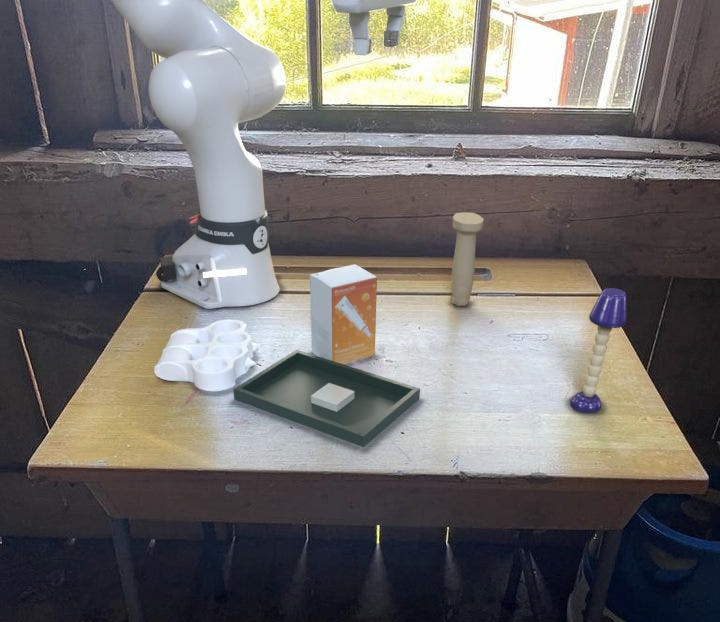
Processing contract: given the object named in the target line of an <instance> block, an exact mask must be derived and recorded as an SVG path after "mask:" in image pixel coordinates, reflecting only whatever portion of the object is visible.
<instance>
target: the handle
mask: <svg viewBox="0 0 720 622" xmlns="http://www.w3.org/2000/svg"><path fill="white" fill-rule="evenodd" d="M452 228H453V229H454V230H455V231H456V241H455V247H454V254H453V262H452V267H451V280H450V281H451V282H450V285H451V286H450V292H451V296H450V299H451V304H453V305H456V306H457V307H461V306H463V307H464V306H468V304H469V303H470V300H471V295H472V290H473V285H474V280H475V279H474V278H475V269H476V268H475V267H476V247H477V233H478V232H480V231H481V230H482V229H483V228H484V218H483V217H482V216H481V215H480V214H478V213H475V212H468V211H467V212H457V213H454V214H453V216H452Z"/></svg>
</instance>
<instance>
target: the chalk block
mask: <svg viewBox="0 0 720 622" xmlns="http://www.w3.org/2000/svg"><path fill="white" fill-rule="evenodd" d="M354 398H355V392H354V391H352V390H349V389H346V388H343V387H340V386H337V385H334V384H331V383H328V384H327V385H325V386H324V387H322V388H321V389H320V390H318V391H317V392H315V393H314V394H313V395H311V403H313V404H316V405H319V406H321V407H324V408H327V409H330V410H333V411H336V412H338V411H339V410H340V409H342V408H343V407H344V406H345V405H347V404H348V403H349V402H351V401H352V400H353V399H354Z"/></svg>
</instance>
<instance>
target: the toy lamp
mask: <svg viewBox="0 0 720 622" xmlns="http://www.w3.org/2000/svg"><path fill="white" fill-rule="evenodd" d="M588 320H589V321H590V322H591V323H592V324H593V325H596V326H597V332H596V334H595V336H594V341H595V342H594V343H593V345H592V352H591V354H590V357H589V365H588V366H587V371H586V373H587V374H586V376H585V378H584V385H583V387H582V391H579V392H576V393H575V394H574V395H573V396H572V397H571V400H570V401H569V404H570V406H571V407H572V409H574V410H576V411H577V412H581V413H587V414H592V413H593V414H594V413H598V412H600V410H602V400H601V397H600V396H598V395H597V394H596V393H597V385H598V384H599V381H600V374H601V373H602V370H603V369H602V367H603V366H602V365H603V363H604V360H605V354H606V352H607V348H608V345H607V344H608V343H609V341H610V333H611V332H612V330H613V329H620V328H622V327H624V326H625V325H626V323H627V294H626V292H625V291H624V290H622V289H618V288H613V287H612V288H611V287H608V288H604V289H602V291H601V292H600V294H599V295H598V297H597V299H596V301H595V303H594V305H593V306H592V309H591V311H590V312H589V316H588Z"/></svg>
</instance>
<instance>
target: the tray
mask: <svg viewBox="0 0 720 622" xmlns="http://www.w3.org/2000/svg"><path fill="white" fill-rule="evenodd" d="M328 383H331V384H334V385H337V386H340V387H343V388H346V389H349V390H352V391H354V392H355V398H354V399H353V400H352V401H351V402H349V403H348V404H347V405H345V406H344V407H343V408H342V409H340V410H339V411H338V412H336V411H333V410H330V409H327V408H324V407H321V406H319V405H316V404H313V403H311V395H313V394H314V393H315V392H317V391H318V390H320V389H321V388H322V387H324V386H325V385H327V384H328ZM232 391H233V399H234V400H235V401H237V402H240V403H242V404H245V405H248V406H250V407H253V408H256V409H258V410H261V411H265V412H267V413H270V414H272V415H275V416H277V417H281V418H283V419H286V420H289V421H291V422H294V423H296V424H298V425H299V424H300V425H302V426H305V427H308V428H310V429H312V430H315V431H318V432H320V433H324V434H326V435H329V436H332V437H335V438H337V439H340V440H342V441H345V442H348V443H351V444H353V445H356V446H359V447H362V448H365V447H366V446H367V445H369V443H370V442H372V441H373V440H374V439H375V438H376V437H377V436H379V435H380V434H381V433H382V432H383V431H384V430H386V429H387V428H388V427H389V426H390V425H391V424H393V423H394V422H395V421H396V420H397V419H398V418H399V417H401V416H402V415H403V414H404V413H405V412H406V411H407V410H409V409H410V408H411V407H412V406H413V405H415V404H416V403H417V402H418V401H419V400H420V398H421V397H420V396H421V388H420V387H416V386H413V385H410V384H407V383H404V382H401V381H397V380H394V379H392V378H388V377H386V376H385V377H384V376H381V375H378V374H375V373H372V372H369V371H366V370H363V369H359V368H356V367H353V366H349V365H347V364H345V363H344V364H340V363H337V362H334V361H331V360H328V359H325V358H321V357H318V356H317V355H315V354H312V353H309V352H307V351H306V352H305V351H302V350H300V349H295V350H294V351H292V352H290V353H289V354H287V355H285V356H284V357H282V358H281V359H279V360H278V361H276V362H274V363H273V364H271V365H270V366H268V367H266V368H265V369H263V370H262V371H260V372H258V373H257V374H255V375H253V376H252V377H251V378H249V379H247V380H246V381H243V383H241V384H239V385H237V386H236V387H234V388H233V389H232Z"/></svg>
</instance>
